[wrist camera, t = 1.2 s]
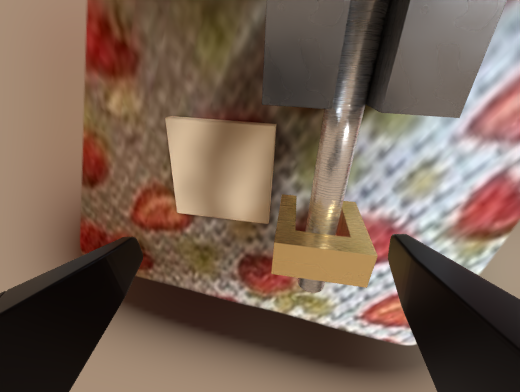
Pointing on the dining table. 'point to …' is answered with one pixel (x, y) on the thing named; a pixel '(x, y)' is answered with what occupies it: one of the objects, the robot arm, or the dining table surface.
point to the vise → (369, 73)
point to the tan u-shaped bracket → (324, 248)
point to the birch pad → (222, 167)
